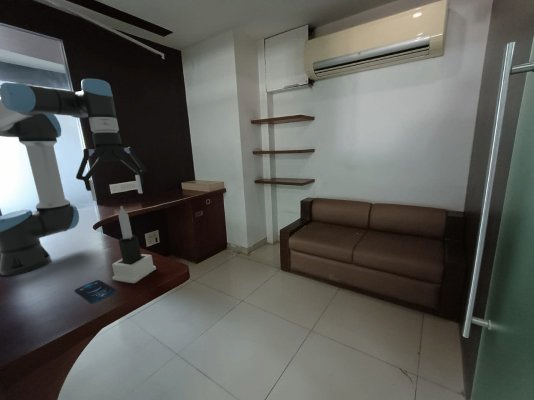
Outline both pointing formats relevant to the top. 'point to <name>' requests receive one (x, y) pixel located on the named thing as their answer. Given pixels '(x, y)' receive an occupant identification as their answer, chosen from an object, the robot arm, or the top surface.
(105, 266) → the top surface
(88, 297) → the smartphone
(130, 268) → the socket
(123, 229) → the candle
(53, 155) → the robot arm
